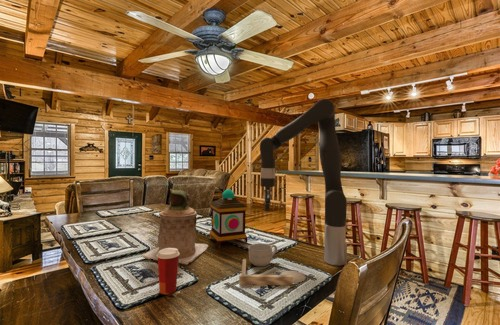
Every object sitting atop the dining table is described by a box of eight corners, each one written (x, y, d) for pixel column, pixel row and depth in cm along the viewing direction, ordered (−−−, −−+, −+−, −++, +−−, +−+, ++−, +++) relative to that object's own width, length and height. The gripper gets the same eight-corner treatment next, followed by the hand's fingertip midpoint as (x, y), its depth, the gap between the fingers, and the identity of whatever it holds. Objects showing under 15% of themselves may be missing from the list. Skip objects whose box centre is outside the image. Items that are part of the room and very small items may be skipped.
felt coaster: (302, 271, 106) (302, 270, 106) (307, 283, 96) (307, 282, 96) (278, 271, 106) (278, 270, 106) (281, 282, 96) (281, 281, 96)
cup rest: (286, 266, 111) (286, 259, 111) (292, 285, 94) (292, 277, 94) (241, 265, 111) (241, 258, 111) (239, 284, 94) (239, 276, 94)
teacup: (251, 270, 107) (252, 251, 107) (245, 260, 117) (245, 243, 117) (282, 266, 111) (282, 248, 111) (273, 257, 121) (273, 241, 121)
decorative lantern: (206, 238, 150) (206, 187, 150) (237, 234, 158) (237, 186, 158) (216, 249, 132) (217, 191, 132) (250, 244, 140) (251, 190, 140)
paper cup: (181, 285, 93) (181, 247, 93) (176, 296, 85) (176, 254, 85) (160, 285, 93) (160, 247, 93) (152, 296, 85) (153, 254, 85)
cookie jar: (190, 265, 111) (190, 192, 111) (139, 260, 116) (140, 190, 115) (210, 247, 135) (210, 187, 135) (167, 243, 140) (168, 185, 140)
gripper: (276, 178, 122) (275, 214, 122) (274, 176, 135) (273, 208, 135) (261, 177, 122) (260, 213, 122) (260, 176, 135) (259, 208, 135)
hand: (267, 211), depth 129 cm, fingers closed
